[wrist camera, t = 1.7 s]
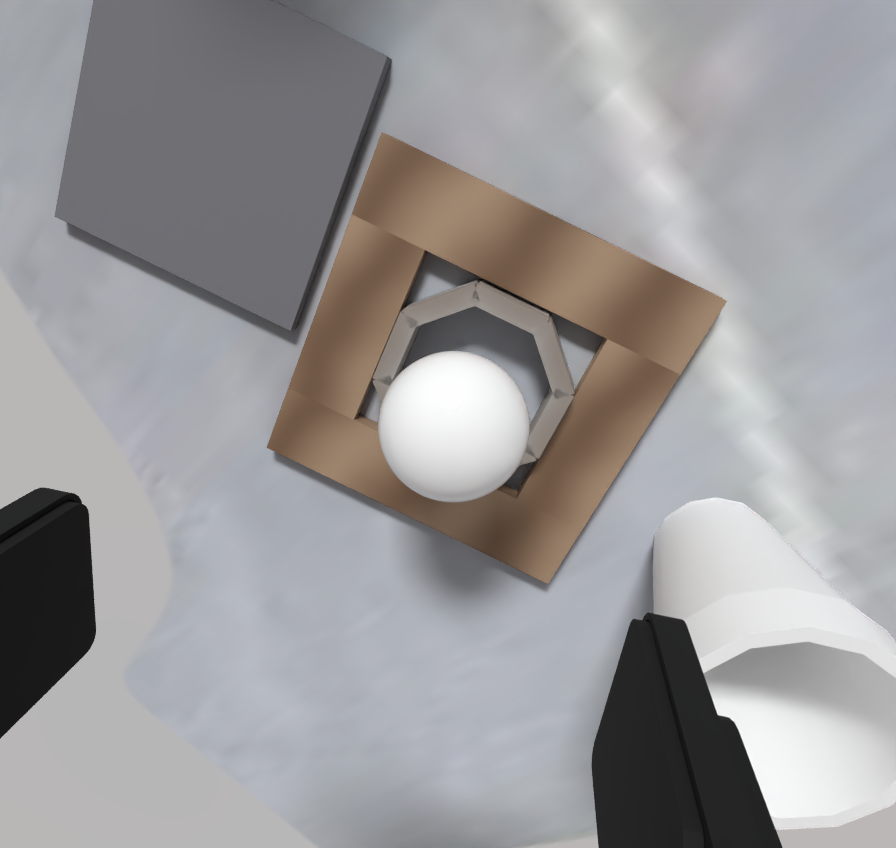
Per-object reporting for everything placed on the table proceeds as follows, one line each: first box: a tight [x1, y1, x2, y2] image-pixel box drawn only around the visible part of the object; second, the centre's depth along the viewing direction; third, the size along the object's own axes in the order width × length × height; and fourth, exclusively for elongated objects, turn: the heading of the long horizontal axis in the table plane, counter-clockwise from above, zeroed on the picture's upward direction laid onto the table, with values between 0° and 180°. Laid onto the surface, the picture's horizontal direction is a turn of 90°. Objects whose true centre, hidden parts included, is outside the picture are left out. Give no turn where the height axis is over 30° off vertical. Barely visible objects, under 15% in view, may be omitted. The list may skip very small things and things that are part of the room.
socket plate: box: [267, 133, 727, 584], centre depth 33 cm, size 18×18×2 cm
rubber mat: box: [55, 0, 391, 331], centre depth 31 cm, size 14×14×1 cm
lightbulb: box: [378, 351, 530, 503], centre depth 29 cm, size 6×6×11 cm
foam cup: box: [653, 497, 896, 830], centre depth 29 cm, size 10×9×13 cm
